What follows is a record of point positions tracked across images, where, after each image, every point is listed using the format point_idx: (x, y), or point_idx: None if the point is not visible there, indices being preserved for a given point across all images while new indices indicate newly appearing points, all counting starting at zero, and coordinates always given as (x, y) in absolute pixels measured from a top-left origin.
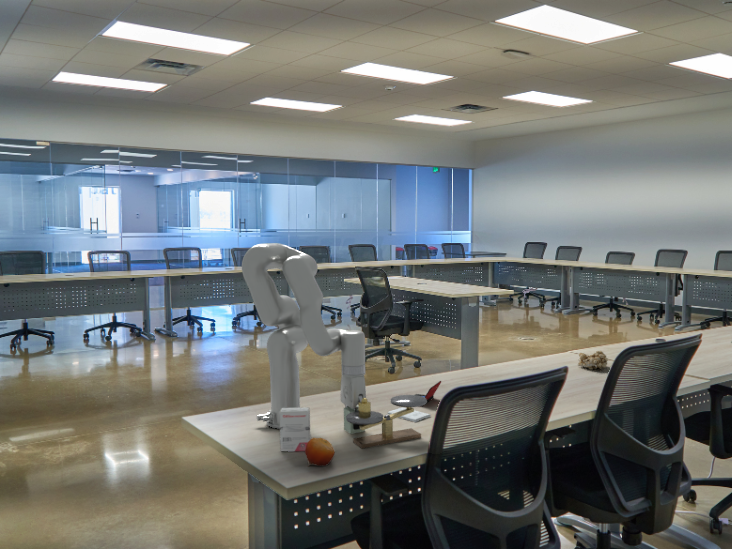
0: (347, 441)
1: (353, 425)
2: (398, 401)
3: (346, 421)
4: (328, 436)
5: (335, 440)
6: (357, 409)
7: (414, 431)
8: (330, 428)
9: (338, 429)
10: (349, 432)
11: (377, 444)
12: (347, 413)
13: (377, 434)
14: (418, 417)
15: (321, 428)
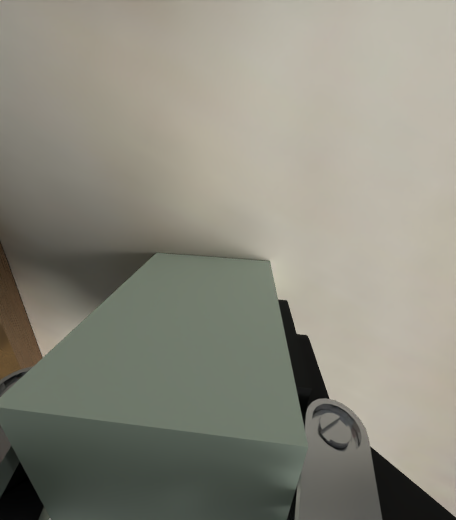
0: (7, 156)
1: None
2: None
3: (209, 295)
4: (172, 53)
5: (48, 69)
6: (98, 512)
7: None
8: (361, 179)
9: (293, 226)
10: (172, 256)
11: None
12: (145, 366)
13: (8, 350)
14: None
15: (429, 96)
